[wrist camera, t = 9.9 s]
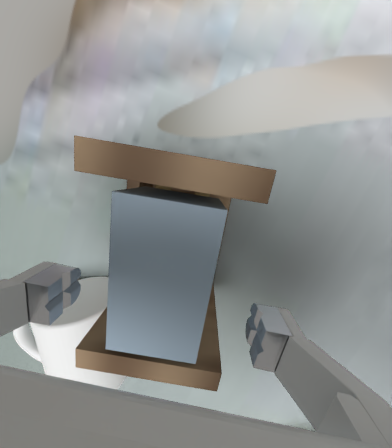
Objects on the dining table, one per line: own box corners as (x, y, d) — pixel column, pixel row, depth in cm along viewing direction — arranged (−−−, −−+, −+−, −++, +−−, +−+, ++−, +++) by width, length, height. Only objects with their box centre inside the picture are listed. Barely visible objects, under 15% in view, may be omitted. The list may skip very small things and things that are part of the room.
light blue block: (219, 198, 13) (227, 210, 8) (198, 306, 16) (195, 364, 11) (145, 186, 13) (111, 191, 8) (135, 296, 16) (105, 349, 11)
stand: (234, 174, 19) (276, 170, 8) (210, 287, 22) (216, 391, 11) (148, 159, 19) (74, 135, 8) (137, 275, 22) (75, 367, 11)
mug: (133, 275, 22) (96, 328, 14) (141, 341, 25) (112, 416, 17) (39, 275, 23) (-45, 325, 15) (56, 339, 25) (-9, 411, 17)
